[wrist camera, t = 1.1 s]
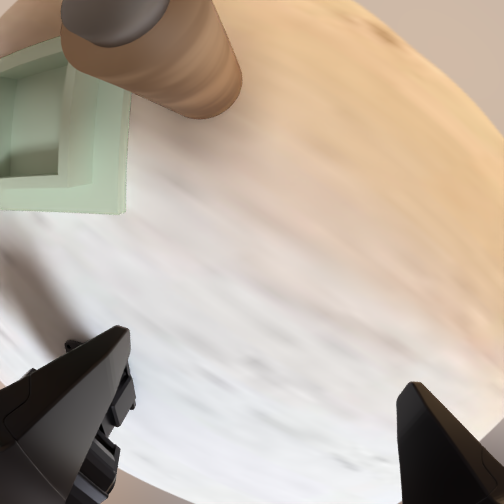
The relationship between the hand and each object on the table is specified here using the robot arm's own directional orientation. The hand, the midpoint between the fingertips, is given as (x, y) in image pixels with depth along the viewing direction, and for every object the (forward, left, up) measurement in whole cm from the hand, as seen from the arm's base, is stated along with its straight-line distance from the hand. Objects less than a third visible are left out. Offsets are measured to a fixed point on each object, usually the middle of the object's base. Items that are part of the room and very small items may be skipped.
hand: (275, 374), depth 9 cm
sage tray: (-20, +9, -13) cm, 25 cm away
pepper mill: (-6, +11, -13) cm, 18 cm away
